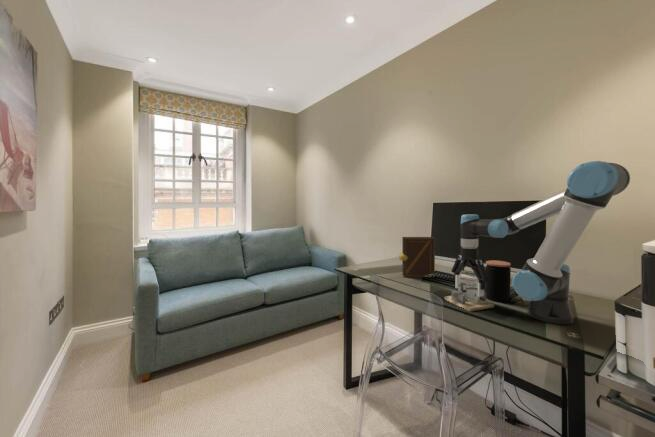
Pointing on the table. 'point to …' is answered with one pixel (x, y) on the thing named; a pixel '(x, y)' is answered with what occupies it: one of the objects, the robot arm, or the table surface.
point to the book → (417, 256)
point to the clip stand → (460, 301)
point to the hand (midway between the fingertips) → (468, 291)
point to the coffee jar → (498, 280)
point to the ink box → (469, 287)
